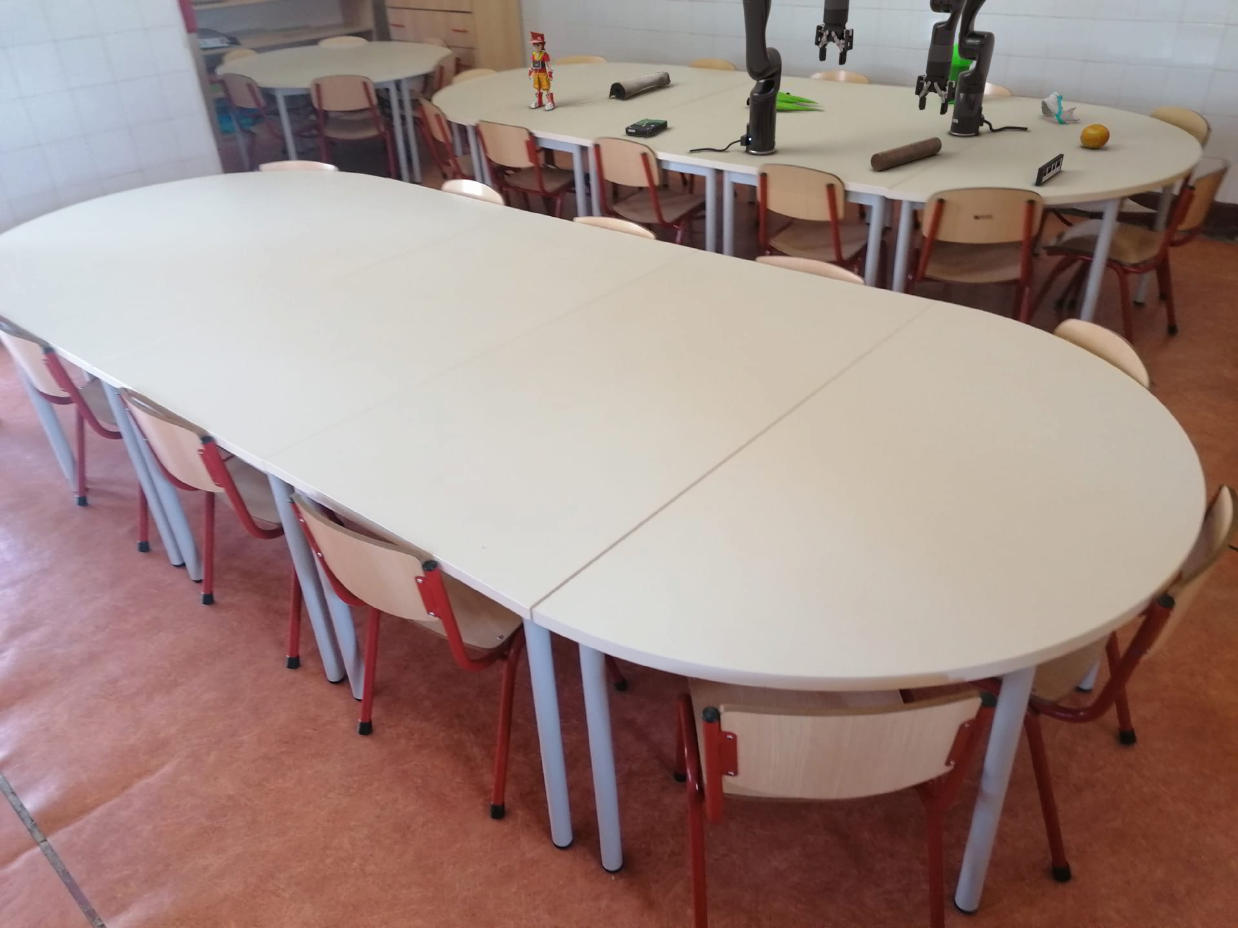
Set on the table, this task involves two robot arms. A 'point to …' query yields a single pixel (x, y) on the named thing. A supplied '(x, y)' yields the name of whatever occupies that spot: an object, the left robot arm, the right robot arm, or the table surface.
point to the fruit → (1095, 136)
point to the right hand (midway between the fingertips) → (932, 112)
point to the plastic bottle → (957, 66)
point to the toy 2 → (790, 102)
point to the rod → (906, 153)
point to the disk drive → (646, 127)
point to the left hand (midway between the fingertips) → (832, 63)
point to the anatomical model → (1057, 108)
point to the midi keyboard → (1049, 169)
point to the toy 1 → (541, 71)
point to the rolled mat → (638, 84)
